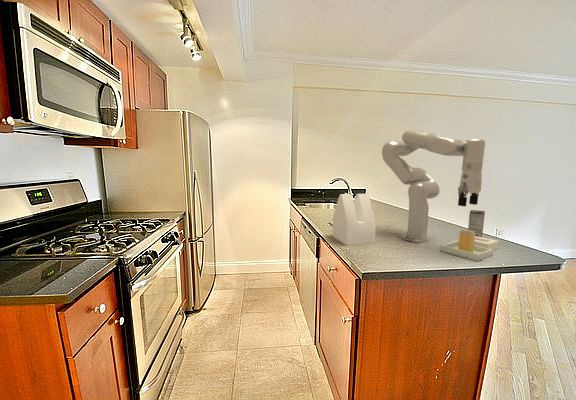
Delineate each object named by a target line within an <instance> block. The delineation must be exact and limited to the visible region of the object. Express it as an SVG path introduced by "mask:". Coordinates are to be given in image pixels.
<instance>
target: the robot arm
mask: <svg viewBox="0 0 576 400" xmlns="http://www.w3.org/2000/svg"><path fill="white" fill-rule="evenodd" d="M485 148H486V141H485V140H484V139H483V138H482V139H481V138H470V139H466V140H464V139H454V138H453V139H452V138H447V137H446V138H445V137H441V136H436V134H435V133H433V132H427V131H424V130H421V129H408V130H406V131H404V132H403V133H402V136H401V140H400V141H399V140H391V141H387V142H385V143H384V144H383V146H382V148H381V149H382V150H381V155H382V159H383V162H384V163H385V164H386V165H387V167H388V168H390V170H391V171H392V172H393V173H394V175H395V176H396V177H397V178H398V179H399V181H400V182H401V183H402V184H403V185H405V186H406V185H408V186H409V187H408V189H407V193H408V219H407V220H408V221H407V231H406V233H404V234H402V238H403V239H404V240H406V241H408V242H412V243H413V242H414V243H427V242H430V240H431V239H430V237H428V236H427V233H428V223H429V222H428V221H429V220H428V219H429V208H430V207H429V203H428V199H434V198H437V197H438V196H439V194H440V191H441V190H440V186H439V184H438V183H437V182H436V180H434V178H433V177H432V176H431V175H430V174H429V173H428V172H427V171H426V170H425V169H423V168H421V167H412V166H410V165H409V164H408V163H407V162H406V160H404V159H403V157H405V156H408V155H410V154H411V153H414V152H416V151H417V150H419V149H422V150H425V151H428V152H431V153H434V154H438V155H442V156H448V157H462V165H461V171H462V172H461V176H460V182H459V186H458V187H457V190H458V191H457V193H458V195H457V196H458V200H457V201H458V204H457V206H460V207H467V203H468V197H467V195H468V194H469V193H470V195H469V203H468V204H469V205H473V206H474V205H475V206H476V205H478V201H479V195H480V194H479V193H480V192H481V191H482V179H483V176H482V175H483V174H482V171H483V164H484V155H485Z"/></svg>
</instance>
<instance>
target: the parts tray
mask: <svg viewBox="0 0 576 400" xmlns="http://www.w3.org/2000/svg"><path fill="white" fill-rule="evenodd" d="M458 248H459V240H455V241H451V242H448V243H443V244H440V248H439V249H440V250H439V252H440V253H445V254H447V255H452V256H455V257H460V258H462V259H465V260H469V261H473V262H477V263H479V262H481V261H482V260H484V259H487V258H489V257H491V256H493V255H494V251H495V249H494V250H493V249H488V248H484V247H480V246H476V245H474V250H473V253H471V252H467V251H463V250H459V249H458Z"/></svg>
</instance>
